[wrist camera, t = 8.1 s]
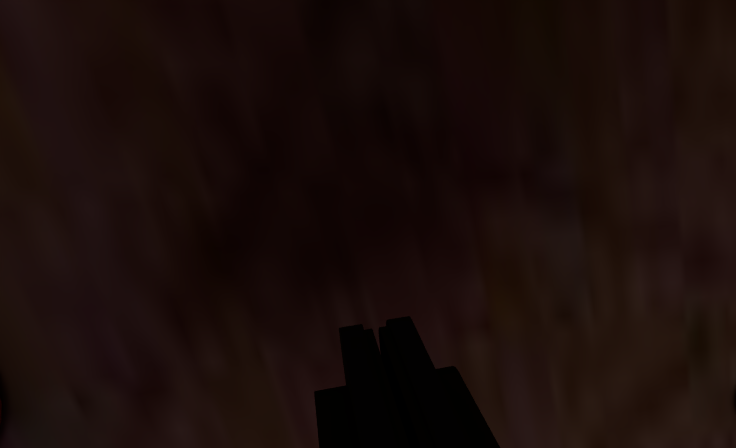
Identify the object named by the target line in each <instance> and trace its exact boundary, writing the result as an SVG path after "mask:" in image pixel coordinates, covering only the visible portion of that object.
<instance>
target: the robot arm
mask: <svg viewBox="0 0 736 448" xmlns="http://www.w3.org/2000/svg"><path fill="white" fill-rule="evenodd" d="M339 333H340V341H341V349H342V357H343V365H344V373H345V380H346V386H341V387H336V388H330V389H325V390H319V391H314V394H315V405H316V416H317V427H318V438H319V448H500V447H499V445H498V443H497V441H496V439H495V437H494V436H493V434H492V432H491V430H490V428H489V427H488V425H487V423H486V421H485V419H484V417H483V416H482V414H481V412H480V410H479V408H478V406H477V405H476V403H475V401H474V399H473V397H472V395H471V394H470V392H469V390H468V388H467V386H466V384H465V383H464V381H463V379H462V377H461V375H460V373H459V372H458V370H457V369H456V367H454V366H451V367H445V368H440V369H435V367H434V365H433V363H432V361H431V359H430V357H429V355H428V353H427V351H426V348H425V346H424V344H423V342H422V340H421V338H420V336H419V334H418V332H417V330H416V328H415V326H414V323H413V321H412V319H411V318H410V316H407V317H401V318H395V319H389V320H387V321H386V326H385V327H379V340H380V351H381V355H380V352H379V349H378V345H377V342H376V339H375V336H374V333H373V330H372V329H368V330H364V329H363V325H362V324H360V325H354V326H348V327H342V328H339Z"/></svg>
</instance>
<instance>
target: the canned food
mask: <svg viewBox="0 0 736 448" xmlns="http://www.w3.org/2000/svg"><path fill="white" fill-rule="evenodd" d="M1 409H2V403H1V399H0V425H1Z"/></svg>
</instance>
